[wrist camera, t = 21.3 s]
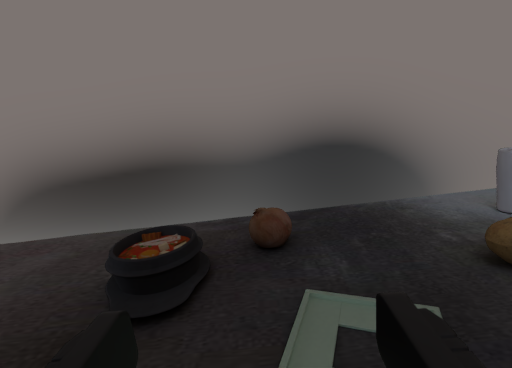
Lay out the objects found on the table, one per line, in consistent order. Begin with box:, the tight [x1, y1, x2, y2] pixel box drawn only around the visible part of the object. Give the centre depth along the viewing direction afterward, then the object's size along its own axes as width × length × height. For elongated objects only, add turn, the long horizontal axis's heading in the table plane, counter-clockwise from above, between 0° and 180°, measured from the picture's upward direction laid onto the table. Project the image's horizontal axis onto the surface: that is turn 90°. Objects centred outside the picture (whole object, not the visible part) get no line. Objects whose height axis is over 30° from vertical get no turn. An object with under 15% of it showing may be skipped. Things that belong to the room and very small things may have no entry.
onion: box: [249, 208, 292, 248], centre depth 63 cm, size 10×9×10 cm
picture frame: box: [279, 289, 442, 368], centre depth 34 cm, size 18×18×1 cm
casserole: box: [105, 225, 210, 318], centre depth 53 cm, size 25×19×8 cm
